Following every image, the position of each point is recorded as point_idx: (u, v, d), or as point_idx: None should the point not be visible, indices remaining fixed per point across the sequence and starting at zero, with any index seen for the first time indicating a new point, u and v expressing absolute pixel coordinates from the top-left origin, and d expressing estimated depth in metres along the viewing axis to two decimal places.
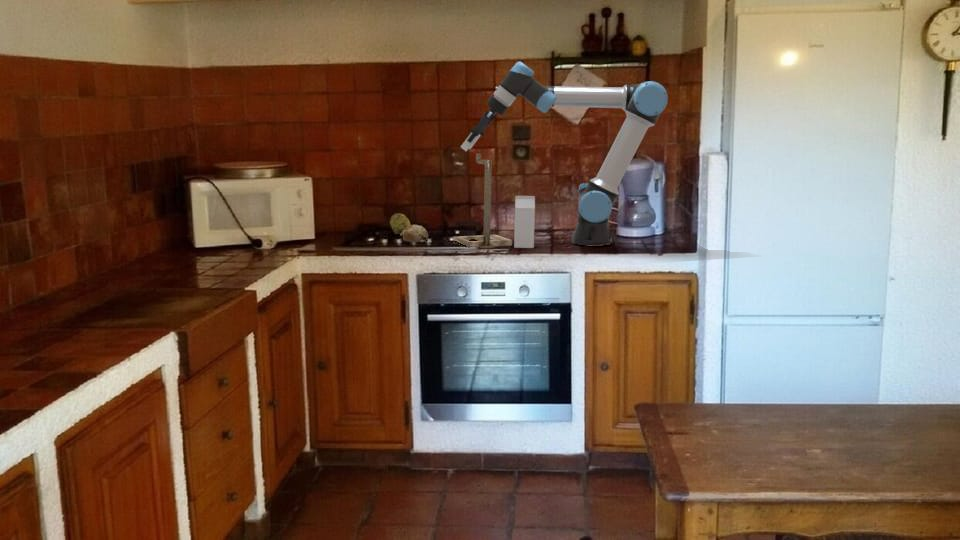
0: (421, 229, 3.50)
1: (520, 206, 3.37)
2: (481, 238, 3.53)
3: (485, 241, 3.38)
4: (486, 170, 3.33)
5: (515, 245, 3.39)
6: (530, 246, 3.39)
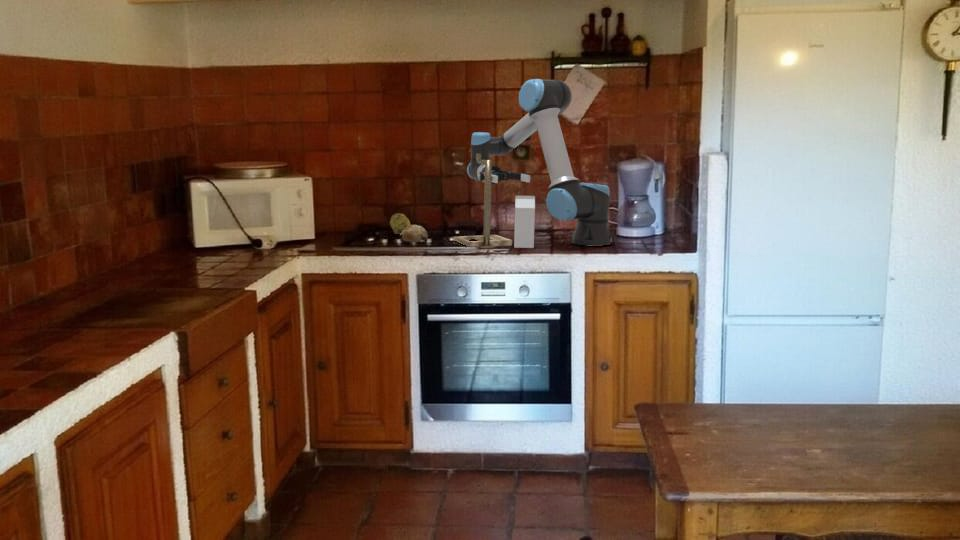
0: (421, 229, 3.50)
1: (520, 206, 3.37)
2: (481, 238, 3.53)
3: (485, 241, 3.38)
4: (486, 170, 3.33)
5: (515, 245, 3.39)
6: (530, 246, 3.39)
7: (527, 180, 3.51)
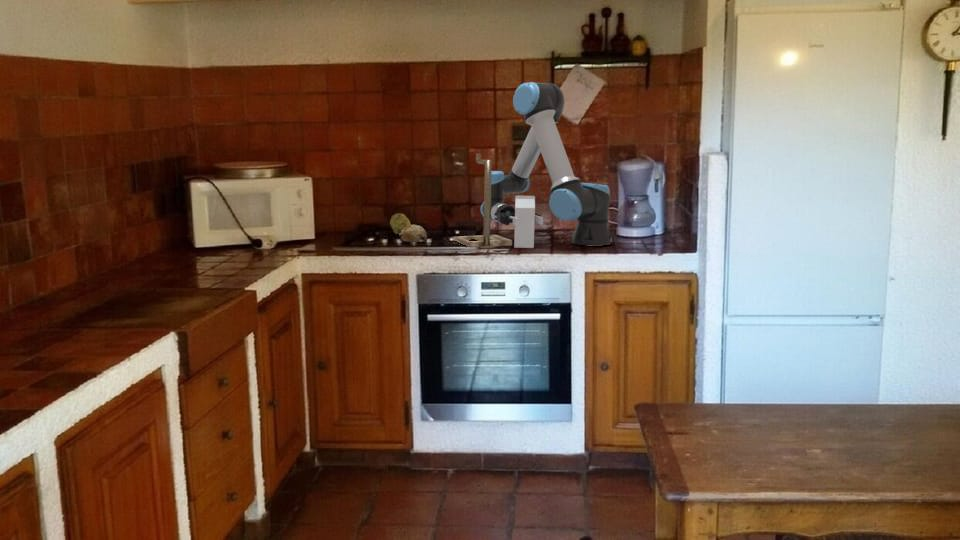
0: (420, 229, 3.50)
1: (520, 206, 3.37)
2: (481, 238, 3.53)
3: (485, 241, 3.38)
4: (486, 170, 3.33)
5: (515, 245, 3.39)
6: (530, 246, 3.39)
7: (540, 222, 3.40)
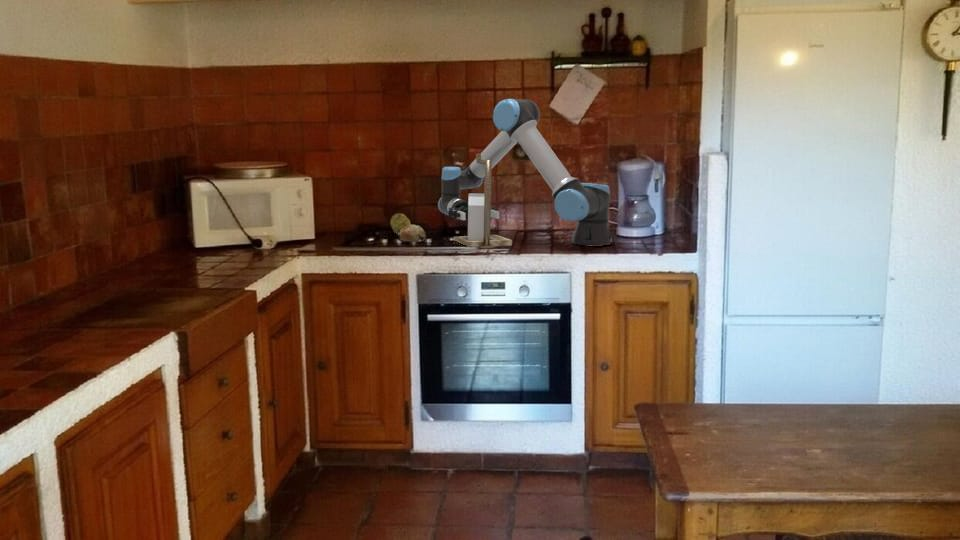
0: (418, 229, 3.50)
1: (473, 204, 3.41)
2: None
3: (485, 241, 3.38)
4: (486, 170, 3.33)
5: None
6: None
7: (496, 216, 3.46)
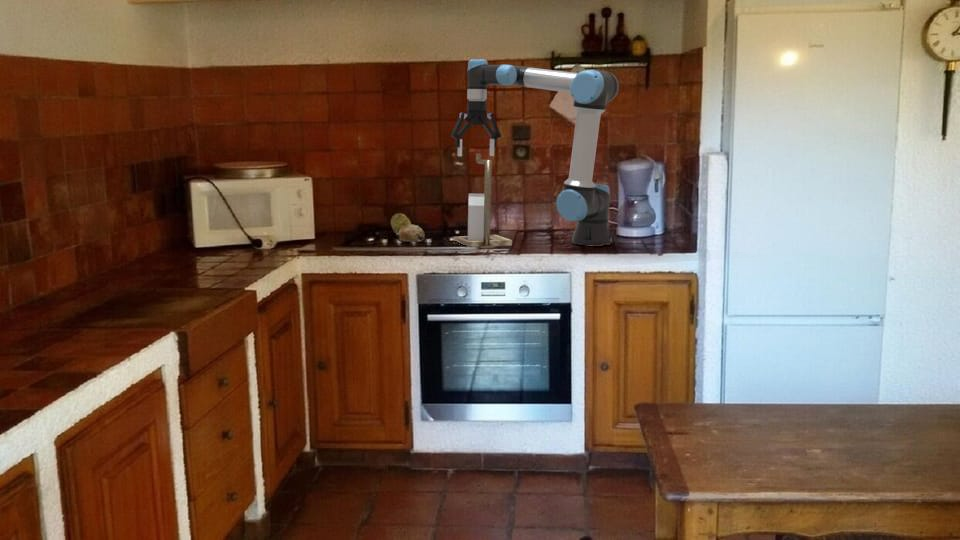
0: (418, 229, 3.50)
1: (473, 204, 3.41)
2: None
3: (485, 241, 3.38)
4: (486, 170, 3.33)
5: None
6: None
7: (490, 153, 3.62)
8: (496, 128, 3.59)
